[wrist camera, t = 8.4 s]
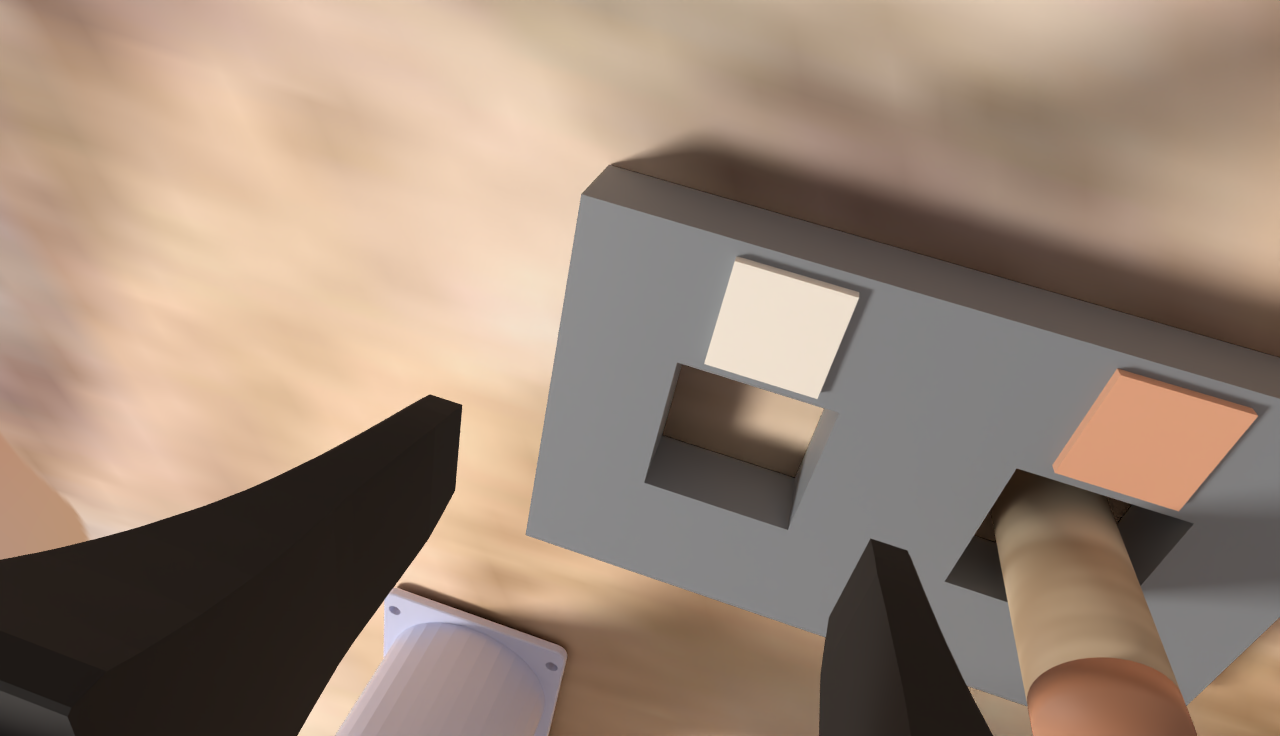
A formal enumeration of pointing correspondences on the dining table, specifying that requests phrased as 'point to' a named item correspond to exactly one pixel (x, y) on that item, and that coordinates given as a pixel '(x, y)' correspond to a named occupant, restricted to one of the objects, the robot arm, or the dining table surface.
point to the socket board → (895, 427)
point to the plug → (1081, 617)
